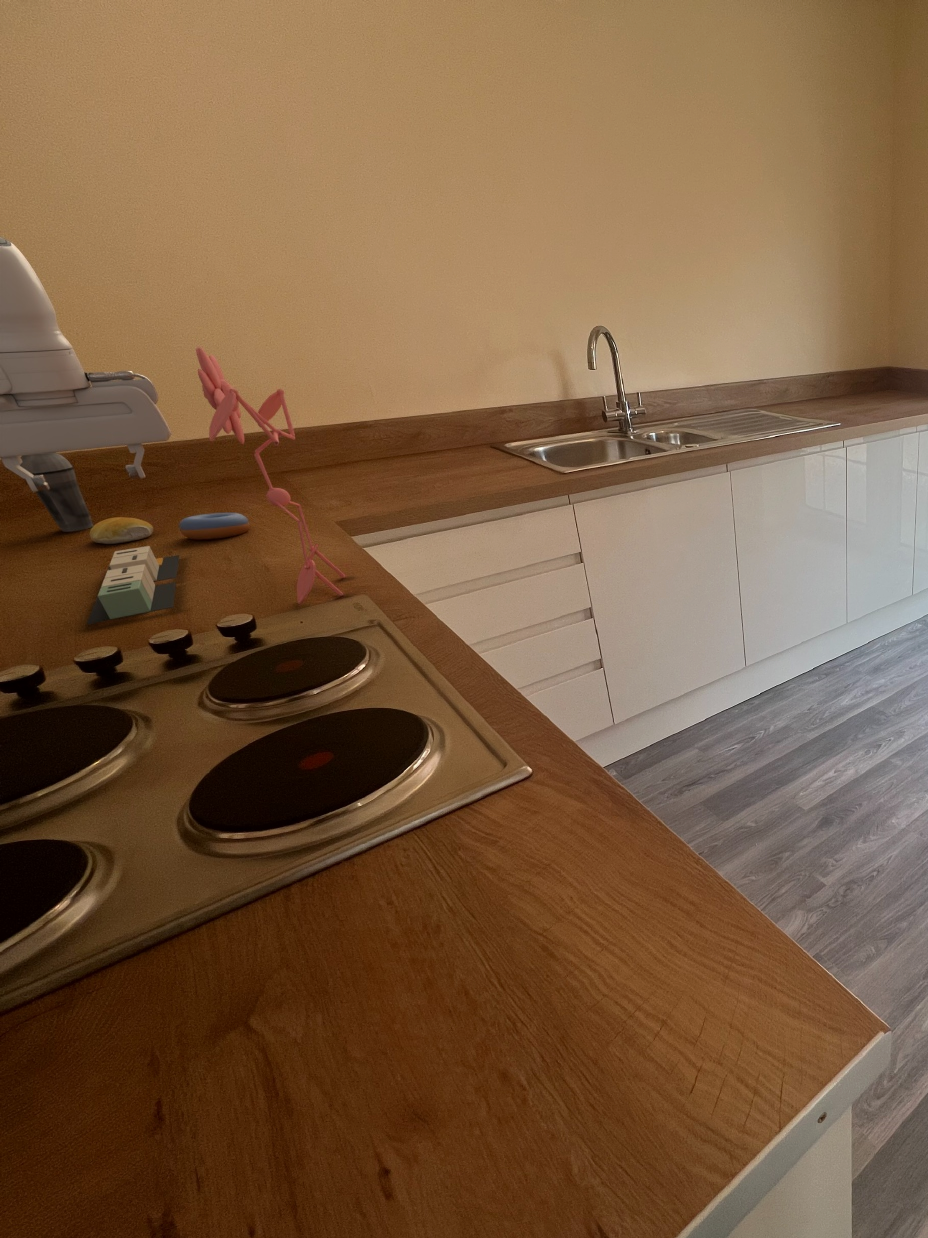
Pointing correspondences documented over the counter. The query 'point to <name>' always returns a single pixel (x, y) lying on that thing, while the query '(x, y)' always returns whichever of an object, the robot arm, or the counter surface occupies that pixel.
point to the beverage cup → (59, 490)
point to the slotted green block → (125, 599)
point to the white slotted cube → (131, 571)
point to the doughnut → (214, 526)
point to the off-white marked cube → (138, 551)
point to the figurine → (258, 450)
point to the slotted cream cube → (135, 563)
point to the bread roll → (120, 530)
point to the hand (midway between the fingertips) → (91, 484)
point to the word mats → (162, 593)
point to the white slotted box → (128, 579)
